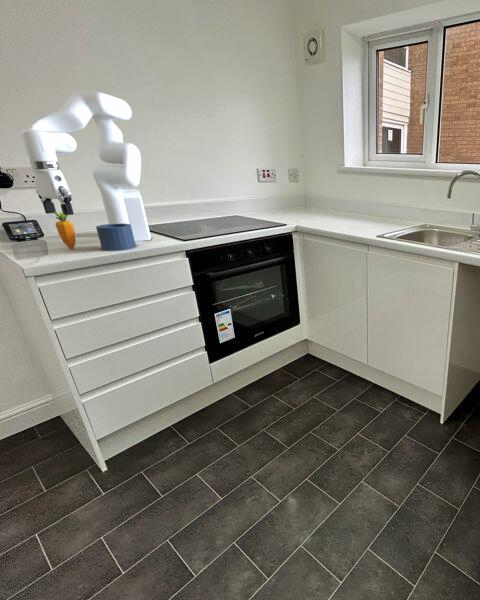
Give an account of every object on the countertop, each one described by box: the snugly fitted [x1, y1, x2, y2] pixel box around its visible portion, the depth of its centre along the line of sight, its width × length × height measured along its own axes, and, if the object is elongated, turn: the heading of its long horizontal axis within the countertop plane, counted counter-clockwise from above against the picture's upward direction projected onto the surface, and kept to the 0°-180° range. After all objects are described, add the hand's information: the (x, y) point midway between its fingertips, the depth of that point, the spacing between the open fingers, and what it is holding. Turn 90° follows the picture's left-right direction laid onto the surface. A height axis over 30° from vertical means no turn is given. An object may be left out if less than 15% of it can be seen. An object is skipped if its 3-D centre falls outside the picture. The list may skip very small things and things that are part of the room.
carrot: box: [53, 211, 77, 250], centre depth 138 cm, size 5×5×15 cm
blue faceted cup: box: [95, 223, 137, 252], centre depth 144 cm, size 11×11×9 cm
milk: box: [122, 189, 152, 242], centre depth 157 cm, size 6×6×22 cm
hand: (59, 214), depth 135 cm, fingers open, 9 cm apart
